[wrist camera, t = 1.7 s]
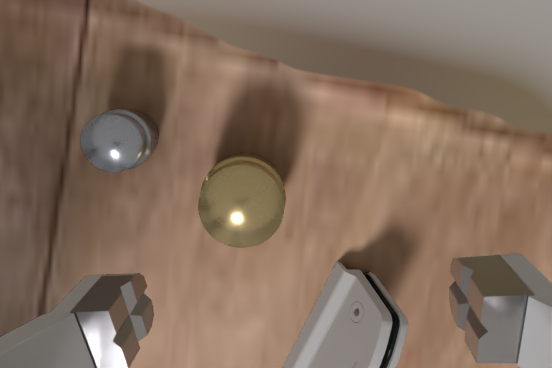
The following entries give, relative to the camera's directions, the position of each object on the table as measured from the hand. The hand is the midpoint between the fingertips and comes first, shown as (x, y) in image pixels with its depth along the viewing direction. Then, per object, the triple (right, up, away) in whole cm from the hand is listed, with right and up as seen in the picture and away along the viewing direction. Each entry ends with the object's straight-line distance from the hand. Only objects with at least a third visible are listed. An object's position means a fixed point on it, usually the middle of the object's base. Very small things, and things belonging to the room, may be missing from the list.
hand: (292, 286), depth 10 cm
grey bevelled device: (+7, -15, +35) cm, 38 cm away
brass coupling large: (-4, +2, +30) cm, 30 cm away
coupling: (-15, +8, +28) cm, 33 cm away
